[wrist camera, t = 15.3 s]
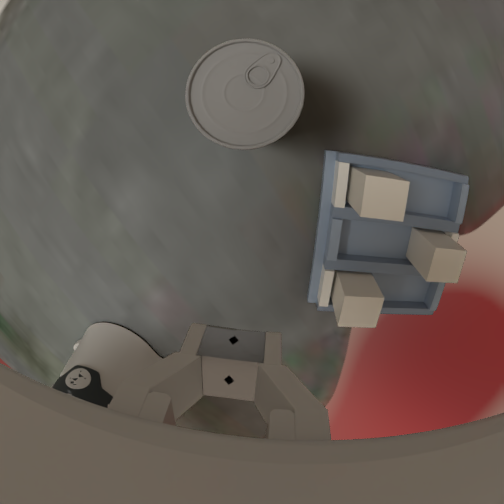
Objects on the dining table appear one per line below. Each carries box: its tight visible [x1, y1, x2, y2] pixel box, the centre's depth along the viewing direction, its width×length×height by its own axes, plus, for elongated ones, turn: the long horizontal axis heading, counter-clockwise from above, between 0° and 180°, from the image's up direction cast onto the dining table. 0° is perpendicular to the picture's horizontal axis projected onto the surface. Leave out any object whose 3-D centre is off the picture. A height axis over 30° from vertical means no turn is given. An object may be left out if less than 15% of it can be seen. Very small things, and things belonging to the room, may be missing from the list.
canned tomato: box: [185, 38, 305, 150], centre depth 22 cm, size 8×8×11 cm
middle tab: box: [406, 227, 467, 283], centre depth 27 cm, size 4×4×6 cm
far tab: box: [330, 270, 384, 328], centre depth 30 cm, size 4×4×6 cm
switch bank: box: [307, 150, 469, 315], centre depth 30 cm, size 17×17×3 cm
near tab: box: [346, 166, 410, 222], centre depth 25 cm, size 4×4×6 cm
